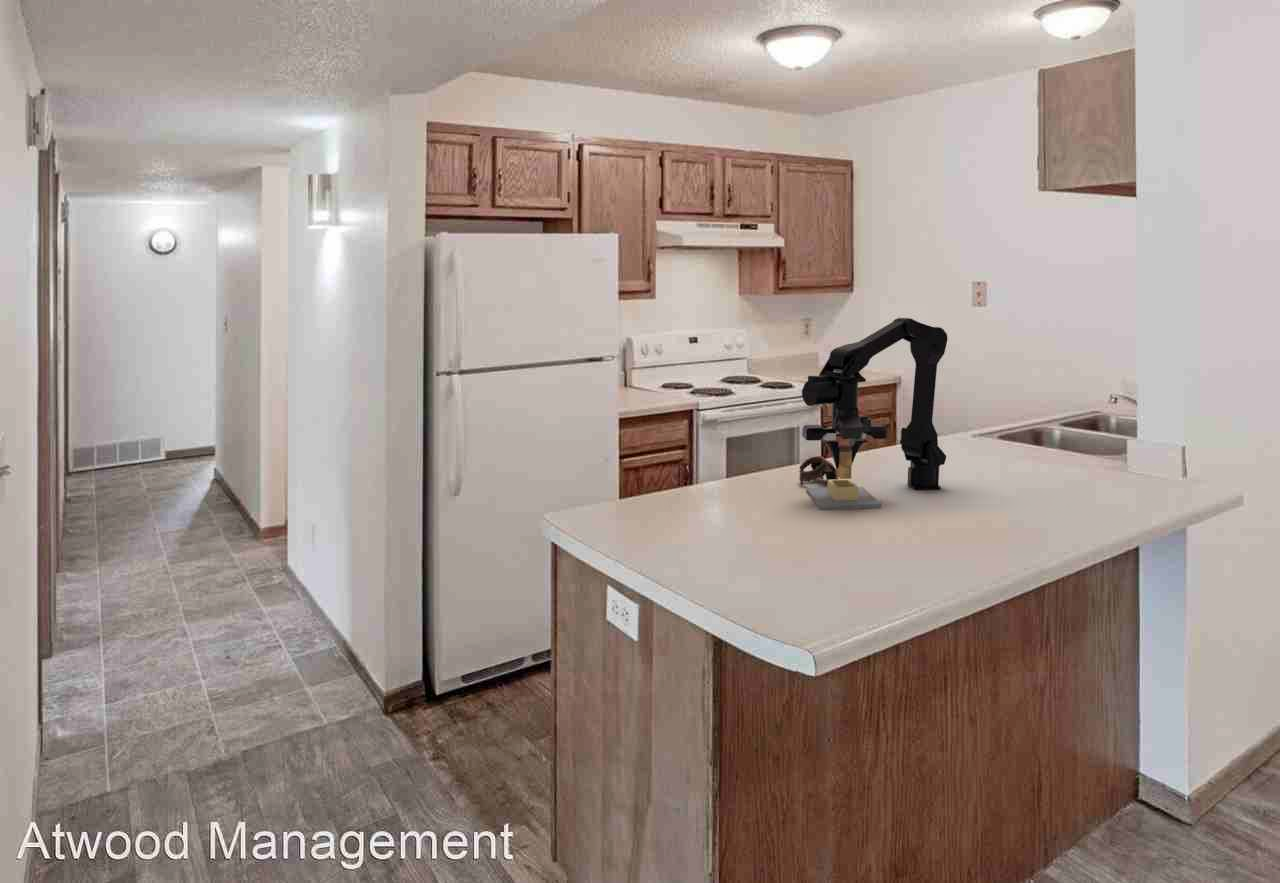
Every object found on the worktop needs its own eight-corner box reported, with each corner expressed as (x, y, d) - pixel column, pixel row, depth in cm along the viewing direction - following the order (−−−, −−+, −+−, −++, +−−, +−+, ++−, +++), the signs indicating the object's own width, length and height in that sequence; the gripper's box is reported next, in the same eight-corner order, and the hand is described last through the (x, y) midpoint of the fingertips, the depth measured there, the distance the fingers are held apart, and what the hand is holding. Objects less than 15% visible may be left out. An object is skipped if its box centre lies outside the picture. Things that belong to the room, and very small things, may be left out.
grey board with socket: (862, 490, 213) (863, 475, 213) (881, 508, 198) (881, 491, 197) (806, 492, 213) (806, 476, 213) (819, 509, 198) (820, 492, 197)
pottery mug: (845, 490, 217) (831, 464, 214) (810, 505, 219) (796, 479, 216) (837, 467, 228) (824, 442, 225) (804, 482, 230) (790, 458, 227)
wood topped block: (846, 473, 207) (846, 444, 205) (851, 478, 202) (851, 449, 200) (835, 473, 207) (836, 445, 205) (840, 478, 202) (841, 449, 200)
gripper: (811, 408, 193) (810, 476, 196) (895, 406, 193) (892, 474, 196) (802, 401, 204) (801, 465, 207) (881, 399, 204) (879, 464, 207)
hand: (843, 467), depth 204 cm, fingers closed on wood topped block, 2 cm apart
